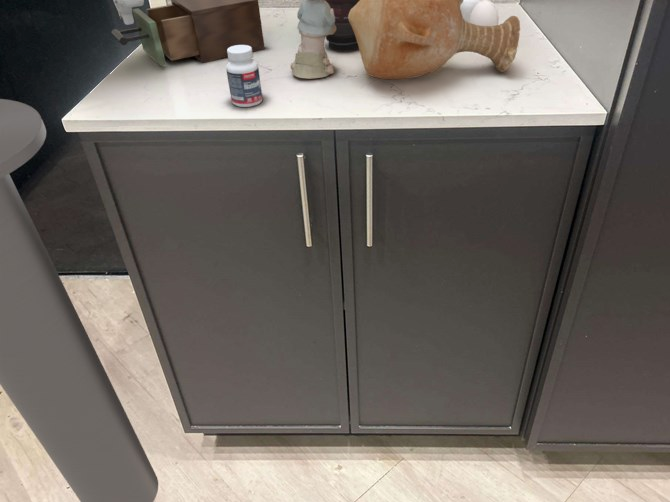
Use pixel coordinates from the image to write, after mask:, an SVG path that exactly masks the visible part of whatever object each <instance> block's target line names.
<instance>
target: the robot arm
mask: <svg viewBox="0 0 670 502" xmlns="http://www.w3.org/2000/svg"><path fill="white" fill-rule="evenodd" d="M112 2H113V3H114V5H115V8H116V10H117V12H118V16H119V20H120V21H121V22H122V23H123V24H124V25H126V26H129V25H134V23H135V18H134V14H133V8H138V7H143V6H145V0H112Z"/></svg>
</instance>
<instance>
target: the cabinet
mask: <svg viewBox="0 0 670 502" xmlns="http://www.w3.org/2000/svg"><path fill="white" fill-rule="evenodd" d="M170 2H171V5H172V4H176V5H178V6H179V7H181V8H182V9H183V10H185V11H186V12H188V13H189V14H191V17H192V22H193V27H194V31H195V36H196V41H197V46H198V50H199V55H196V56H194V58H195V59H197V60H198V61H199V62H201V64H203V63H208V62H213V61H217V60H222V59H225V58H226V59H227V58H228V53H227V49H228V48H229V47H231V46H235V45H248V46H250V47H251V48H252V53H254V52H259V51H262V50H265V49H266V48H265V42H264V33H263V26H262V19H261V11H260V4H259V0H170Z"/></svg>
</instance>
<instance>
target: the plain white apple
mask: <svg viewBox="0 0 670 502" xmlns="http://www.w3.org/2000/svg"><path fill="white" fill-rule="evenodd" d="M481 1H483V0H463V3H462V4H461V5H460V10H461V13H462V17H463V19H464V20H465V21H466V22H468V23H469V18H470V14H471V12H472V10H473V8H474V7H475V6H476V4H478V3H479V2H481Z"/></svg>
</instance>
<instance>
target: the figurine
mask: <svg viewBox="0 0 670 502" xmlns="http://www.w3.org/2000/svg"><path fill="white" fill-rule="evenodd" d="M296 14H297V15H296V17H297V19H298V20H299V21H298V23H297V29H298V33H299V35H300V44H299V45H298V49H297V52H296V53H295V57H294V61H293V62H292V63H290V71H291V74H292V75H293V76H295V77H296V78H299V79H310V80H311V79H319V78H320V79H321V78H325V77H328V76H330V75H332V74H334V71H335V70H334V66H333V64H331V63H330V59H329V57H328V53H327V51H326V47H325V45H326V44H325V43H326V42H325V40H326V36H327V35H332V34H334V33H335V31H336V26H335V24H334V23H335V16H334V10H333V9H332V8H330V6H329V4H328V3H327V2H326V1H325V0H301V3H300V6H299V9H298V10H297V13H296Z"/></svg>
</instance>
